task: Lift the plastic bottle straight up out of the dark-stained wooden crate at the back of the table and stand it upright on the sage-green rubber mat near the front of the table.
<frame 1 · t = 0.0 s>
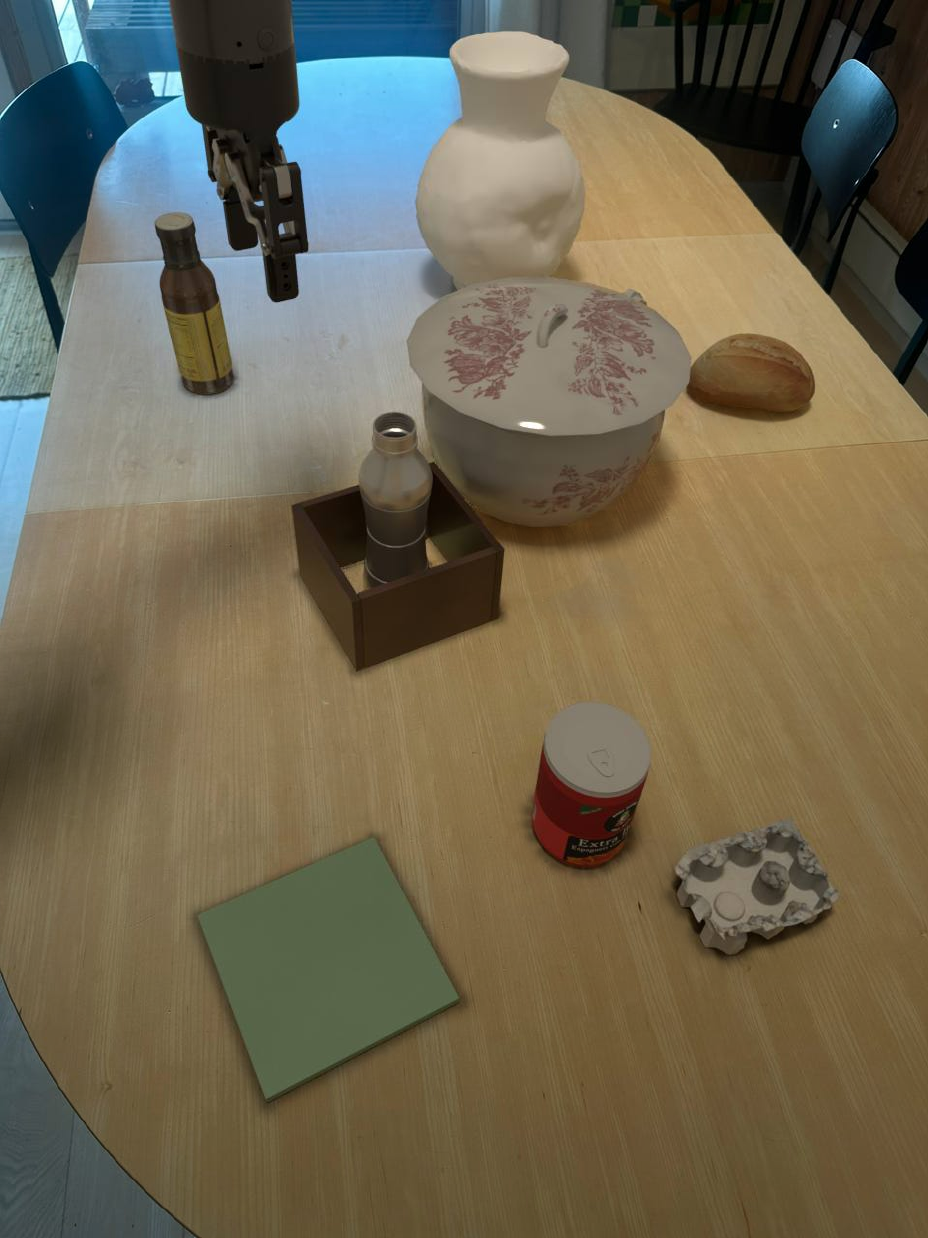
hand: (263, 272, 74), 30 cm above the table, tool pointing down, fingers open, 8 cm apart
bread roll: (745, 402, 117), on the table
sauce bottle: (207, 383, 116), on the table
plastic bottle: (397, 597, 93), resting in crate
egg carton: (745, 898, 73), on the table
canned food: (578, 826, 77), on the table
chamber pot: (535, 482, 106), on the table
mat: (325, 960, 69), on the table
vase: (492, 290, 133), on the table
crate: (397, 596, 93), on the table
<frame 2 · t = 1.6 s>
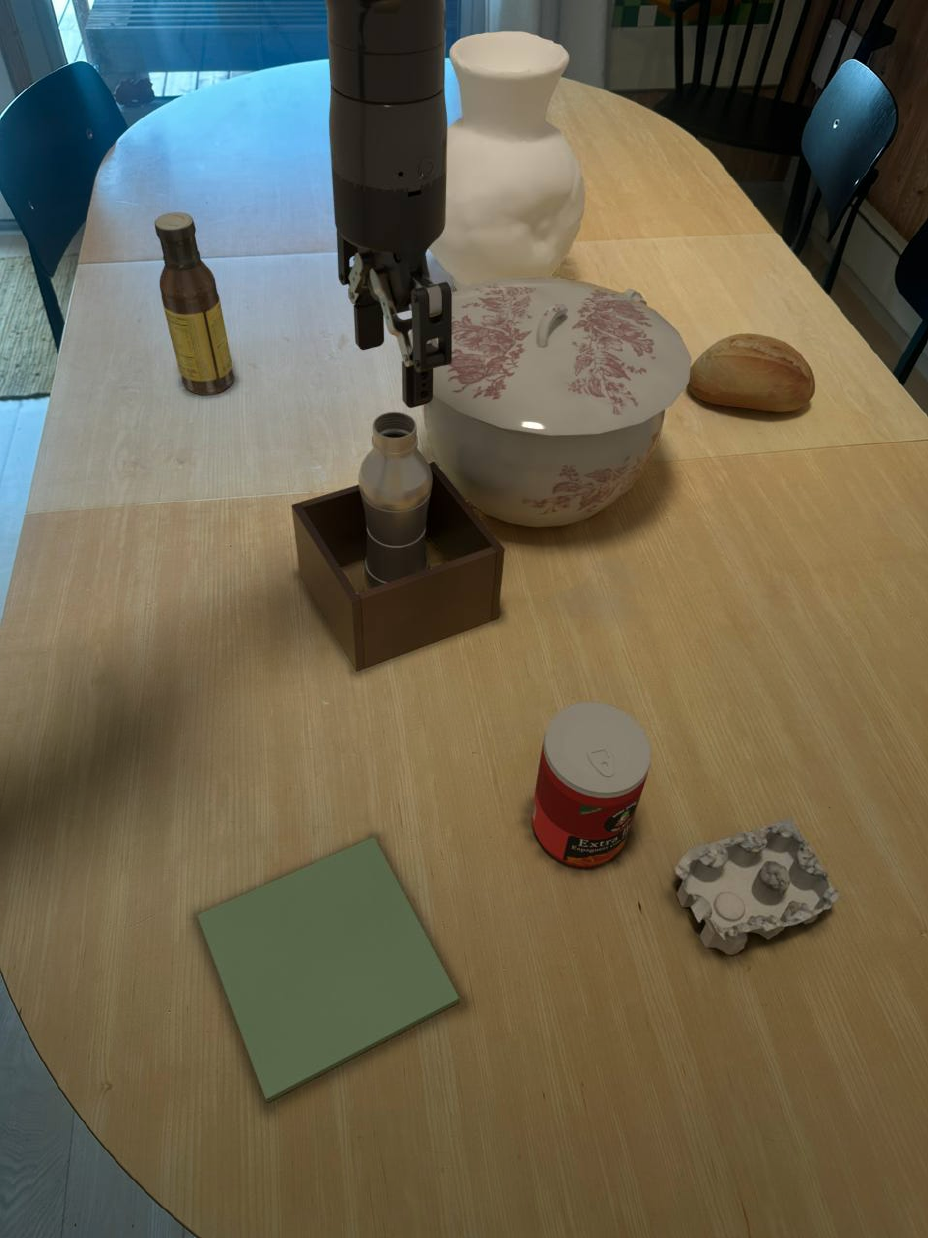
hand: (393, 373, 75), 25 cm above the table, tool pointing down, fingers open, 8 cm apart
nothing on the table moved.
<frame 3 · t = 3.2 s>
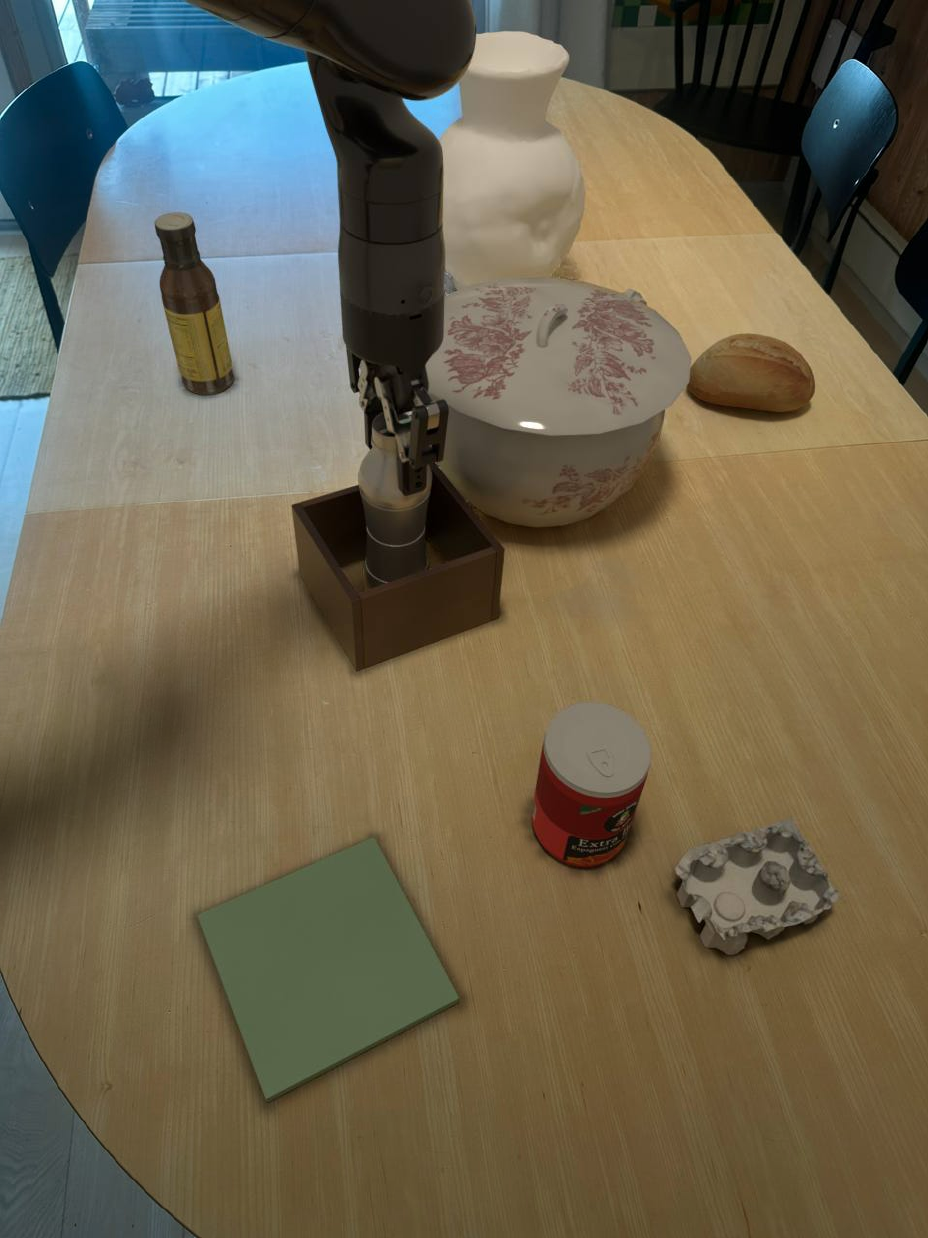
hand: (395, 467, 81), 16 cm above the table, tool pointing down, fingers closed on plastic bottle, 6 cm apart
plastic bottle: (397, 597, 93), resting in crate, touching gripper
everything else where it was.
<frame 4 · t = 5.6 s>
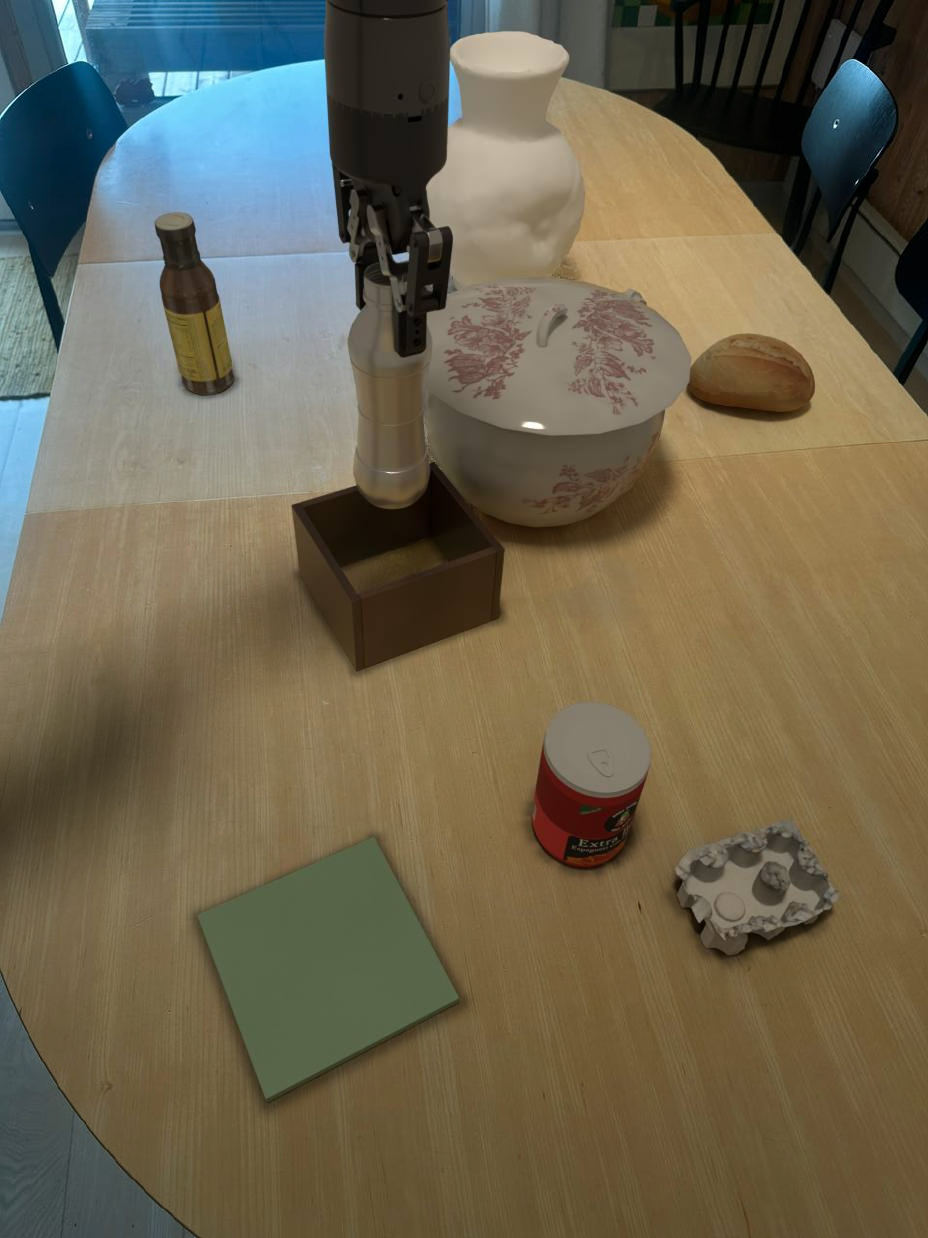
hand: (390, 329, 71), 29 cm above the table, tool pointing down, fingers closed on plastic bottle, 6 cm apart
plastic bottle: (392, 495, 83), point 13 cm above the table, touching gripper
everything else where it was.
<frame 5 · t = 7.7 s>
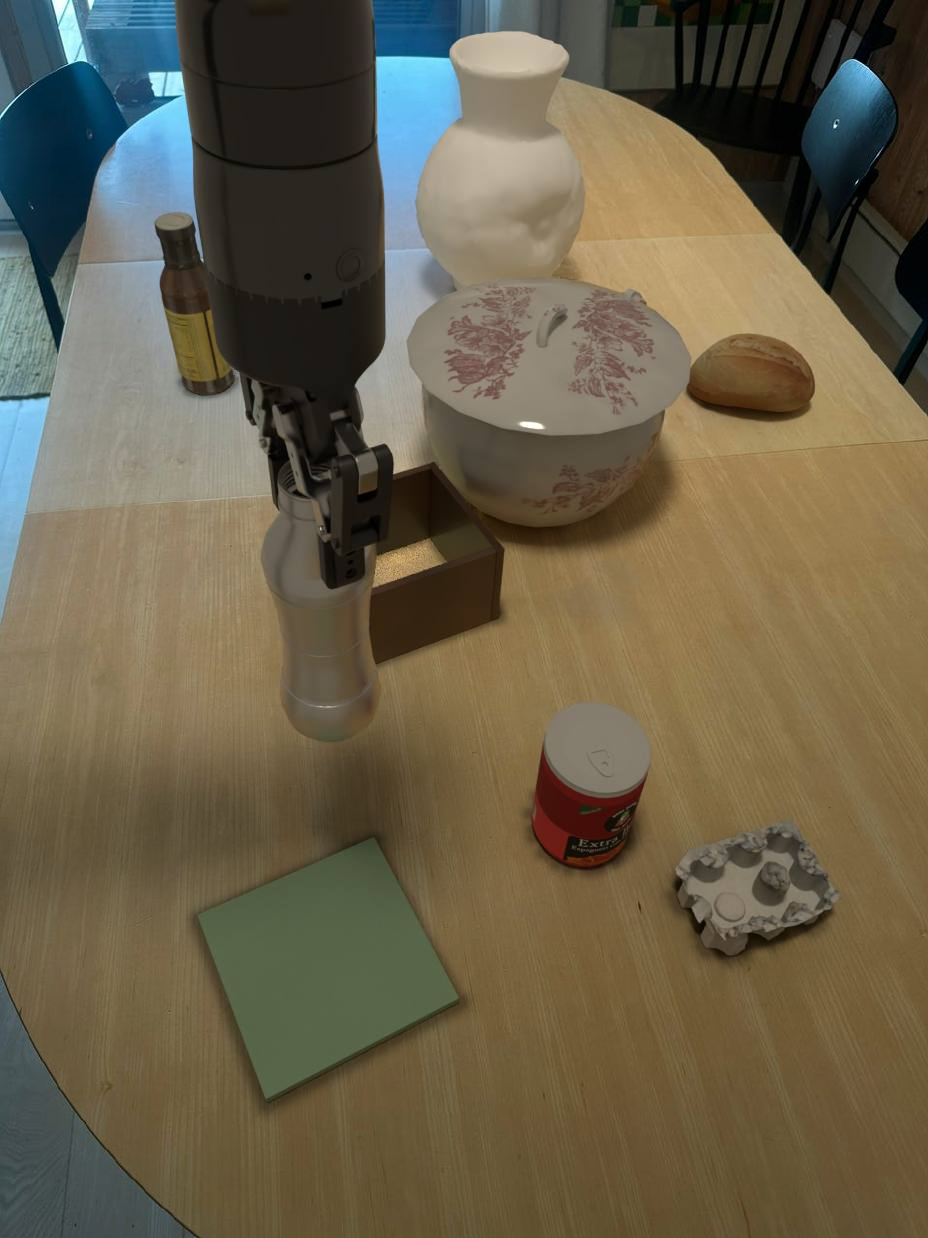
hand: (318, 541, 52), 31 cm above the table, tool pointing down, fingers closed on plastic bottle, 6 cm apart
plastic bottle: (332, 716, 64), point 15 cm above the table, touching gripper
everything else where it was.
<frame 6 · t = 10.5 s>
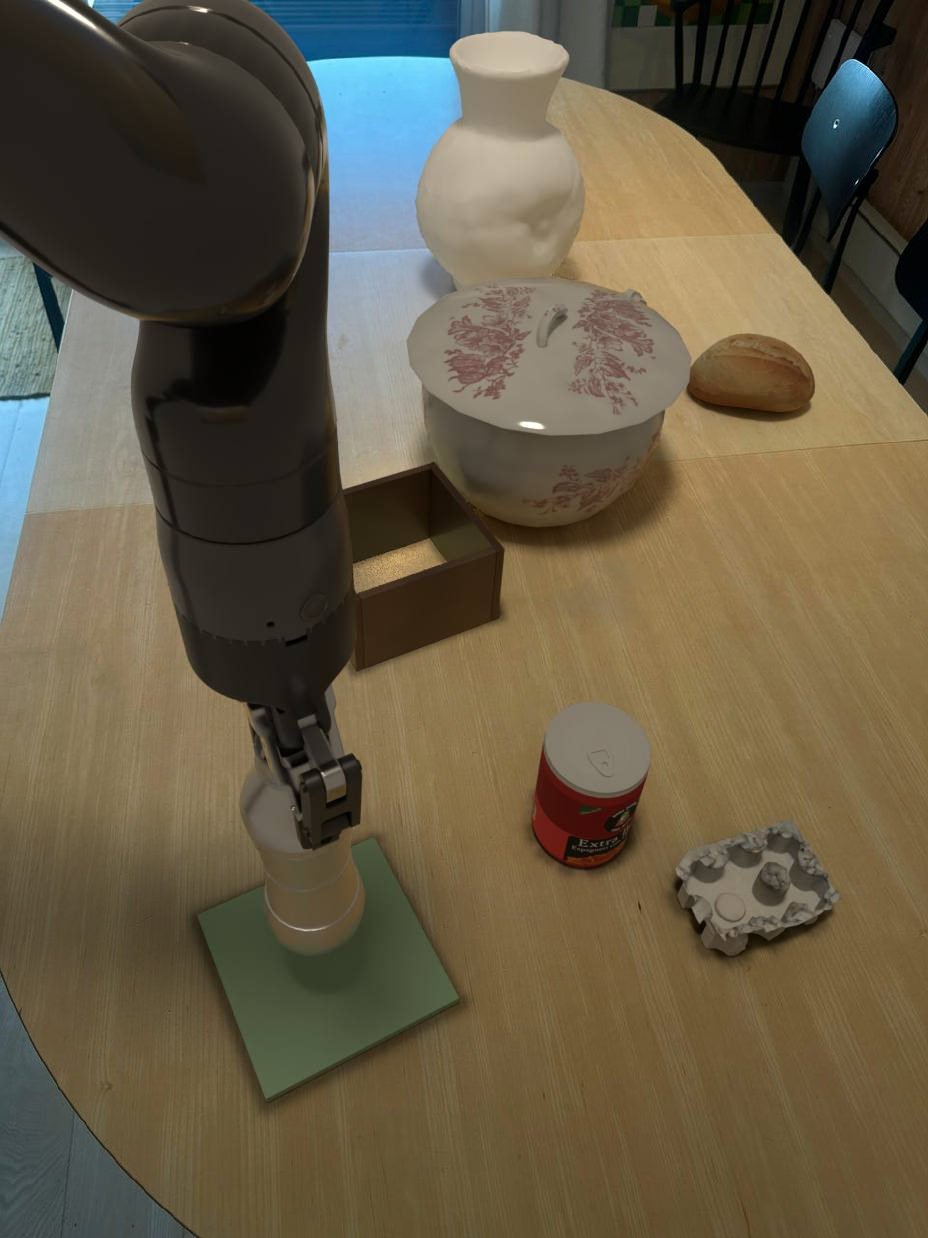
hand: (296, 789, 52), 22 cm above the table, tool pointing down, fingers closed on plastic bottle, 6 cm apart
plastic bottle: (317, 920, 64), point 6 cm above the table, touching gripper
everything else where it was.
when the fingers open (16 cm above the table, at t = 12.5 s): plastic bottle stays where it is, resting on mat.
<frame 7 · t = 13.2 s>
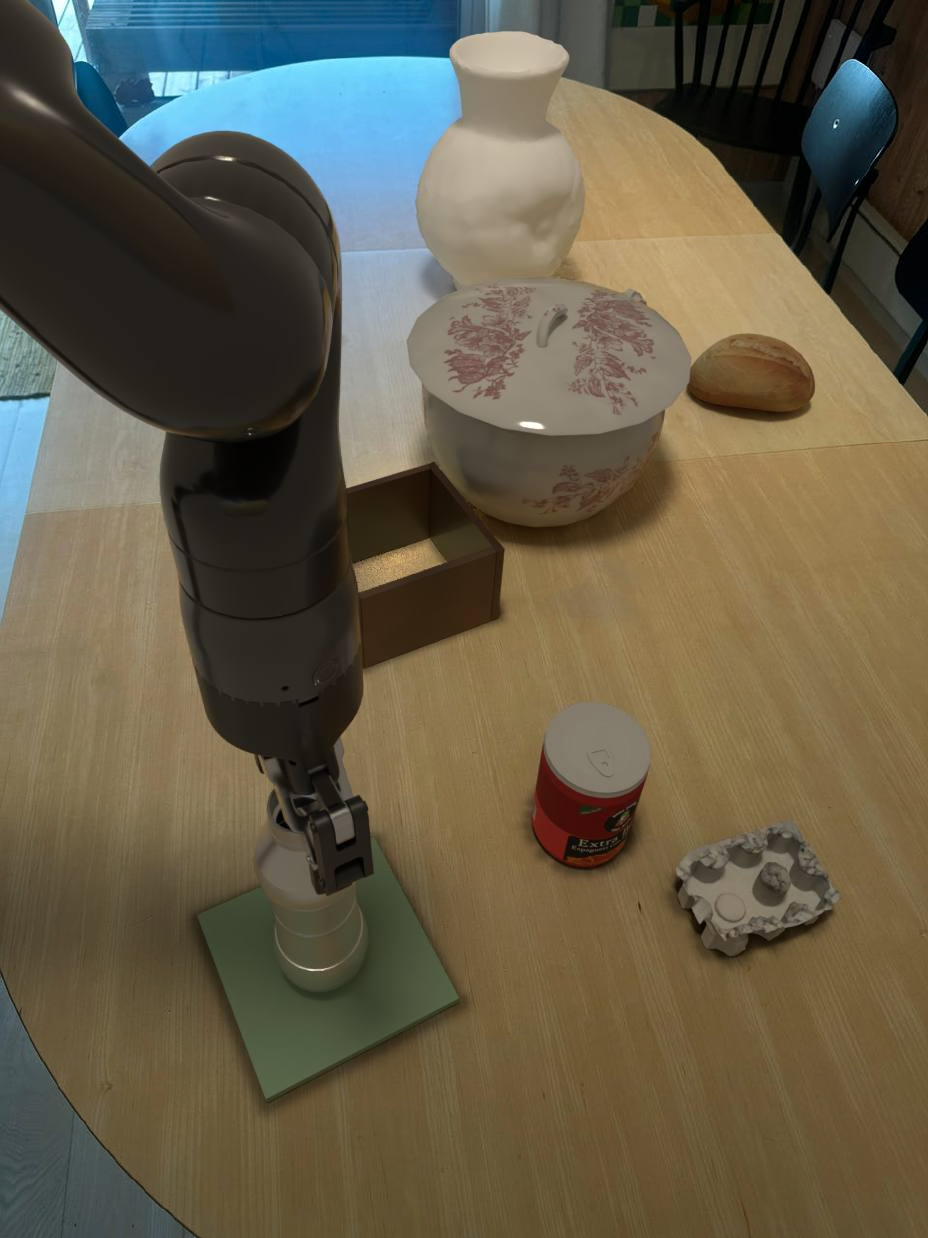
hand: (303, 821, 55), 19 cm above the table, tool pointing down, fingers open, 8 cm apart
plastic bottle: (324, 956, 68), point 1 cm above the table, touching mat
everything else where it was.
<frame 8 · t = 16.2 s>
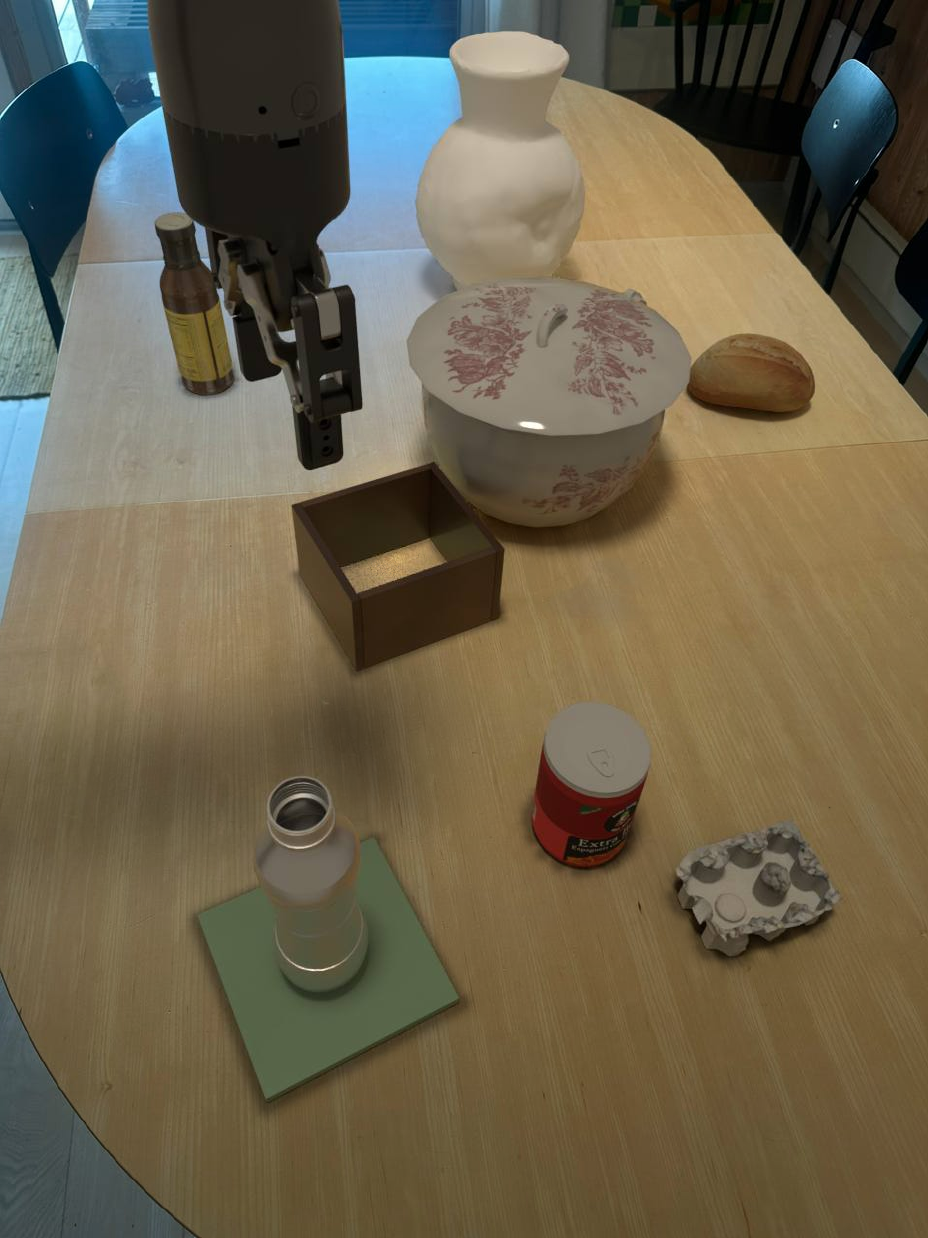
hand: (290, 417, 52), 36 cm above the table, tool pointing down, fingers open, 8 cm apart
nothing on the table moved.
at the end: plastic bottle inside the target area on the mat (0.1 cm from its centre), point 0.6 cm above the mat's base; plastic bottle tilted 0°; plastic bottle touching mat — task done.
